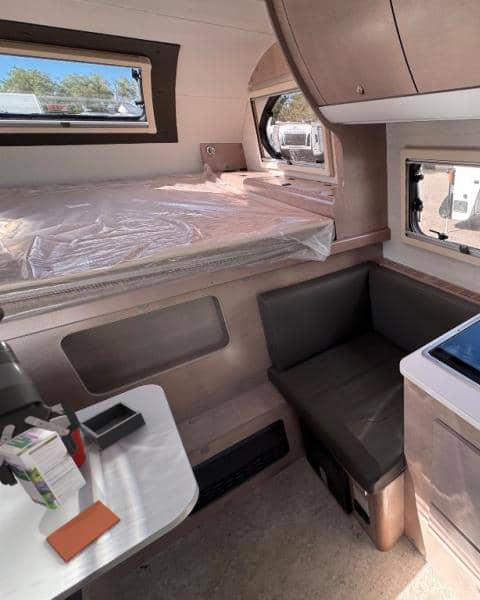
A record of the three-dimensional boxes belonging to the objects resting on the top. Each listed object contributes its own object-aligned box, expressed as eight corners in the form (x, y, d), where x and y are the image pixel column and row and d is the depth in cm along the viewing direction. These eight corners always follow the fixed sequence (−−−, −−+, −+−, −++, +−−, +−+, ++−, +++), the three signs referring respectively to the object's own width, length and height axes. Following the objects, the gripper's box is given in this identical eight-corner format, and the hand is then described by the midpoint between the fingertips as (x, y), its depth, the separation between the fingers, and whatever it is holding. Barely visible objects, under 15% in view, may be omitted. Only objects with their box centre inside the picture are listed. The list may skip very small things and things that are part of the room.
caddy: (103, 450, 86) (96, 438, 84) (84, 436, 90) (77, 424, 88) (145, 423, 94) (140, 412, 92) (126, 411, 98) (121, 400, 96)
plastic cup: (30, 476, 79) (5, 440, 74) (84, 443, 88) (65, 409, 83) (52, 494, 75) (28, 458, 70) (107, 457, 84) (88, 423, 79)
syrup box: (32, 503, 62) (-8, 450, 55) (67, 475, 67) (34, 424, 61) (54, 510, 60) (16, 457, 54) (88, 482, 66) (57, 430, 59)
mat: (66, 562, 63) (66, 561, 62) (46, 539, 66) (45, 537, 66) (120, 519, 70) (119, 518, 70) (99, 500, 74) (98, 499, 73)
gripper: (-67, 410, 53) (-22, 498, 52) (53, 368, 63) (93, 440, 62) (-50, 419, 58) (-8, 500, 57) (59, 379, 69) (96, 446, 67)
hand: (45, 468), depth 60 cm, fingers closed on syrup box, 7 cm apart
